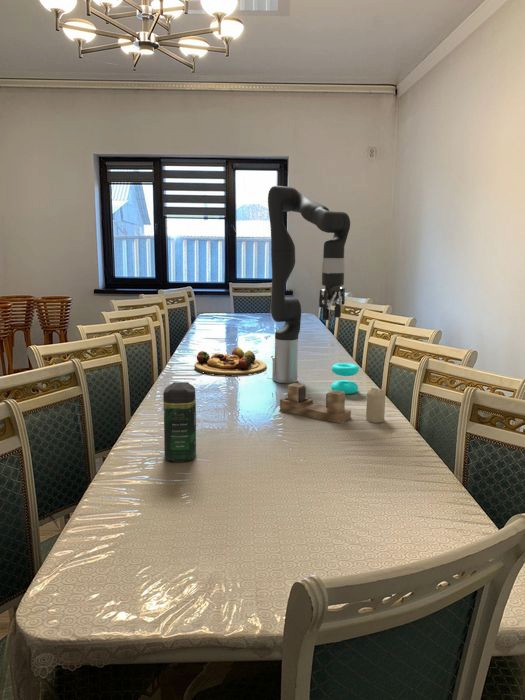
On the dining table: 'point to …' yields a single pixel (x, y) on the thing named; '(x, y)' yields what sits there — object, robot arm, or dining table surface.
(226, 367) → the wooden plate with food
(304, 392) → the brown wooden block
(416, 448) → the dining table surface
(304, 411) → the rail
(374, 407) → the candle
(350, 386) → the donuts
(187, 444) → the coffee jar
